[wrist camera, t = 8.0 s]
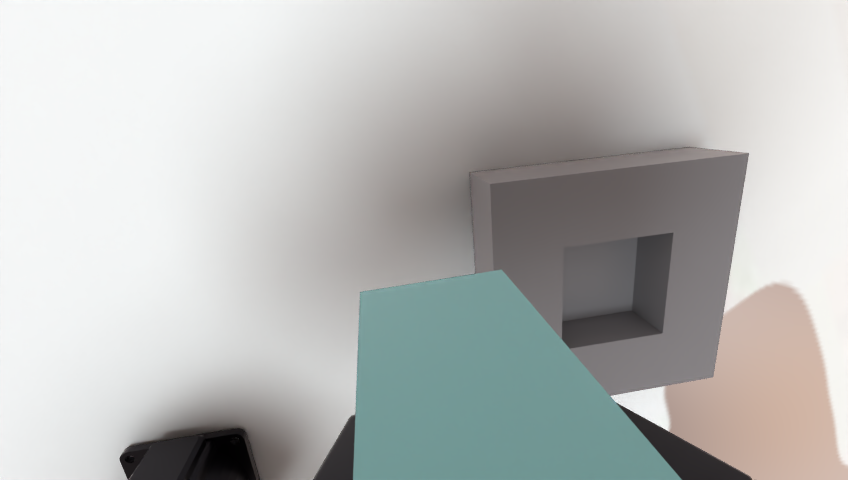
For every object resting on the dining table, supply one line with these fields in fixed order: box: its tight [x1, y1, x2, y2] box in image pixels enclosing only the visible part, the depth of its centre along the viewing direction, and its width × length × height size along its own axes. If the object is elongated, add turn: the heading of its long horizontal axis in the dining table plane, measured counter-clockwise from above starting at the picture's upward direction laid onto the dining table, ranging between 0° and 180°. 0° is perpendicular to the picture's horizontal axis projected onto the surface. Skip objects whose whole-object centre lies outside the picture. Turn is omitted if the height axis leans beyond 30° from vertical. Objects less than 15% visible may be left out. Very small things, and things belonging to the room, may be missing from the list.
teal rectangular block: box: [353, 270, 682, 480], centre depth 7 cm, size 4×4×8 cm
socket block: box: [470, 147, 749, 396], centre depth 21 cm, size 12×12×4 cm
